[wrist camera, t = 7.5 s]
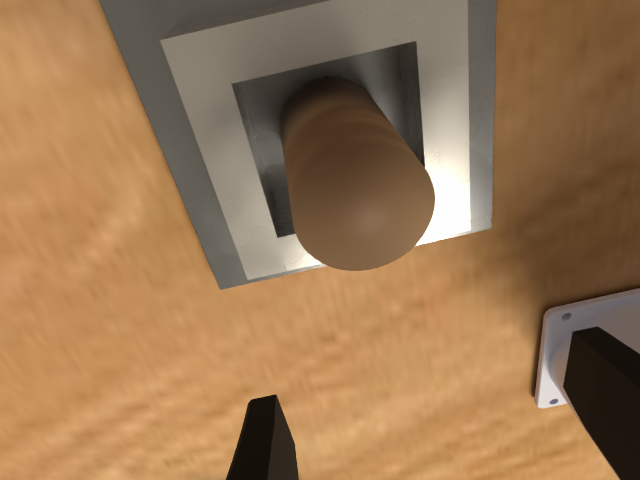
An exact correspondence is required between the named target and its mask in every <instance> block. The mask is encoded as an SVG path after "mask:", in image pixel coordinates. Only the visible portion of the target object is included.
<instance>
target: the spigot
mask: <svg viewBox="0 0 640 480" xmlns="http://www.w3.org/2000/svg"><path fill="white" fill-rule="evenodd" d="M280 134H281V141H282V148H283V155H284V163H285V170H286V177H287V184H288V191H289V199H290V206H291V213H292V220H293V227H294V230H295V234H296V236H297V238H298V240H299V242H300V244H301V245H302V247H303V248H304V249H305V250H306V251H307V252H308V253H309V254H310V255H311V256H312V257H313V258H315V259H316V260H318V261H319V262H321V263H323V264H325V265H327V266H330V267H333V268H336V269H341V270H349V271H362V270H369V269H374V268H378V267H381V266H384V265H387V264H389V263H391V262H393V261H395V260H397V259H398V258H400V257H402V256H403V255H405V254H406V253H407V252H409V251H410V250H411V249H412V248H413V247H414V246H415V245H416V244H417V243H418V242H419V241H420V239H421V238H422V237H423V235H424V234H425V232H426V231H427V229H428V227H429V225H430V223H431V220H432V217H433V213H434V209H435V191H434V186H433V183H432V180H431V178H430V176H429V174H428V172H427V171H426V169H425V168H424V166H423V165H422V164H421V162H420V161H419V160H418V158H417V157H416V156H415V154H414V153H413V152H412V150H411V149H410V148H409V146H408V145H407V144H406V142H405V141H404V140H403V138H402V137H401V136H400V134H399V133H398V132H397V130H396V129H395V128H394V126H393V125H392V124H391V122H390V121H389V120H388V118H387V117H386V116H385V114H384V113H383V112H382V110H381V109H380V108H379V106H378V105H377V104H376V102H375V101H374V100H373V98H372V97H371V96H370V95H369V93H368V92H367V91H366V90H365V89H364V88H362V87H361V86H359V85H358V84H356V83H354V82H352V81H350V80H346V79H342V78H323V79H319V80H316V81H313V82H311V83H309V84H307V85H305V86H304V87H302V88H301V89H300V90H298V91H297V92H296V93H295V94H294V95H293V96H292V98H291V99H290V100H289V102H288V103H287V105H286V107H285V109H284V112H283V115H282V118H281V124H280Z"/></svg>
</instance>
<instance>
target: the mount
mask: <svg viewBox="0 0 640 480" xmlns="http://www.w3.org/2000/svg"><path fill="white" fill-rule="evenodd" d="M100 3H101V5H102V8H103V10H104V12H105V15H106V17H107V20H108V22H109V24H110V27H111V29H112V32H113V34H114V36H115V39H116V41H117V44H118V46H119V48H120V51H121V53H122V56H123V58H124V60H125V63H126V65H127V68H128V70H129V72H130V75H131V77H132V80H133V82H134V84H135V87H136V89H137V92H138V94H139V96H140V99H141V101H142V104H143V106H144V108H145V111H146V113H147V116H148V118H149V120H150V123H151V125H152V128H153V130H154V132H155V135H156V137H157V140H158V142H159V144H160V147H161V149H162V152H163V154H164V156H165V159H166V161H167V164H168V166H169V168H170V171H171V173H172V176H173V178H174V180H175V183H176V185H177V188H178V190H179V192H180V195H181V197H182V200H183V202H184V204H185V207H186V209H187V212H188V214H189V216H190V219H191V221H192V224H193V226H194V228H195V231H196V233H197V236H198V238H199V240H200V243H201V245H202V248H203V250H204V252H205V255H206V257H207V259H208V262H209V264H210V267H211V269H212V271H213V274H214V276H215V279H216V281H217V283H218V286H219V288H220V290H221V289H226V288H230V287H235V286H239V285H244V284H248V283H252V282H257V281H261V280H266V279H270V278H275V277H279V276H283V275H288V274H292V273H297V272H301V271H306V270H310V269H314V268H319V267H323V266H327V265H325V264H323V263H321V262H319V261H318V260H316V259H315V258H313V257H312V256H311V255H310V254H309V253H308V252H307V251H306V250H305V249H304V248H303V247H302V245H301V244H300V242H299V240H298V238H297V236H296V234H295V230H294V227H293V220H292V213H291V206H290V199H289V191H288V184H287V177H286V170H285V163H284V155H283V148H282V141H281V134H280V124H281V118H282V115H283V112H284V109H285V107H286V105H287V103H288V102H289V100H290V99H291V98H292V96H293V95H294V94H295V93H296V92H297V91H298V90H300V89H301V88H302V87H304V86H305V85H307V84H309V83H311V82H313V81H316V80H319V79H323V78H342V79H346V80H350V81H352V82H354V83H356V84H358V85H359V86H361V87H362V88H364V89H365V90H366V91H367V92H368V93H369V95H370V96H371V97H372V98H373V100H374V101H375V102H376V104H377V105H378V106H379V108H380V109H381V110H382V112H383V113H384V114H385V116H386V117H387V118H388V120H389V121H390V122H391V124H392V125H393V126H394V128H395V129H396V130H397V132H398V133H399V134H400V136H401V137H402V138H403V140H404V141H405V142H406V144H407V145H408V146H409V148H410V149H411V150H412V152H413V153H414V154H415V156H416V157H417V158H418V160H419V161H420V162H421V164H422V165H423V166H424V168H425V169H426V171H427V172H428V174H429V176H430V178H431V180H432V183H433V186H434V191H435V209H434V213H433V217H432V220H431V223H430V225H429V227H428V229H427V231H426V232H425V234H424V235H423V237H422V238H421V239H420V241H419V242H418V243H417V244H416V245H421V244H425V243H429V242H434V241H438V240H443V239H447V238H452V237H456V236H460V235H465V234H469V233H474V232H478V231H483V230H487V229H491V228H492V192H493V145H494V97H495V50H496V3H497V0H100ZM416 245H415V246H416Z"/></svg>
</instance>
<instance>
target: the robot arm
mask: <svg viewBox="0 0 640 480" xmlns="http://www.w3.org/2000/svg"><path fill="white" fill-rule="evenodd" d="M534 401H535V404H536V405H537V407H539V408H548V407H553V406H557V405H562V404H566V403H568V405H569V406H570V408H571V409H572V411H573V412H574V414H575V415H576V417H577V418H578V420H579V421H580V422H581V424H582V425H583V427H584V428H585V430H586V431H587V433H588V434H589V436H590V437H591V439H592V440H593V442H594V443H595V445H596V446H597V448H598V449H599V451H600V452H601V454H602V455H603V456H604V458H605V459H606V461H607V462H608V464H609V465H610V467H611V468H612V470H613V471H614V473H615V474H616V476H617V477H618V479H619V480H640V288H638V289H633V290H629V291H624V292H620V293H615V294H611V295H606V296H602V297H597V298H593V299H589V300H584V301H580V302H575V303H571V304H566V305H562V306H557V307H553V308H550V309H549V310H547V311H546V313H545V314H544V319H543V328H542V337H541V345H540V354H539V363H538V372H537V381H536V390H535V399H534ZM226 480H299V479H298V469H297V460H296V451H295V443H294V440H293V438H292V435H291V432H290V430H289V427H288V424H287V422H286V419H285V416H284V414H283V411H282V408H281V406H280V403H279V400H278V398H277V395H271V396H266V397H261V398H257V399H252V400H251V401H250V402H249V403H248V406H247V411H246V415H245V419H244V423H243V427H242V430H241V434H240V437H239V441H238V444H237V447H236V450H235V454H234V457H233V460H232V463H231V466H230V469H229V472H228V475H227V478H226Z"/></svg>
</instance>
